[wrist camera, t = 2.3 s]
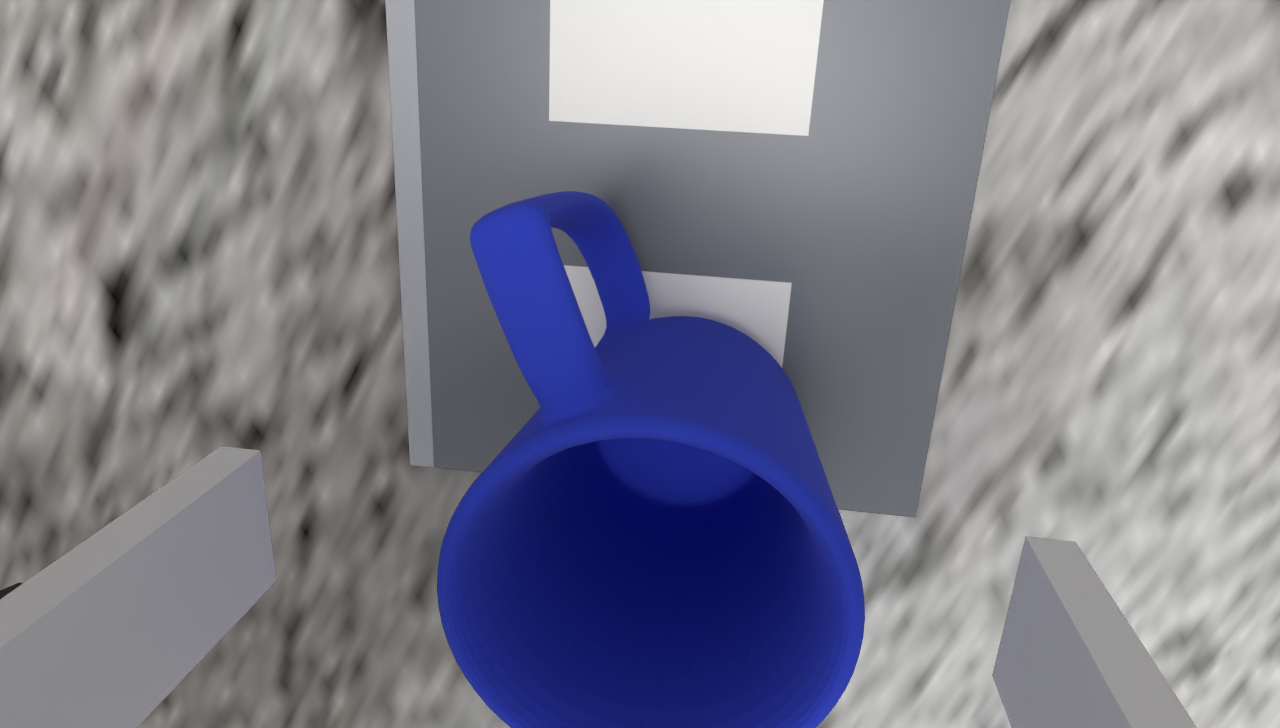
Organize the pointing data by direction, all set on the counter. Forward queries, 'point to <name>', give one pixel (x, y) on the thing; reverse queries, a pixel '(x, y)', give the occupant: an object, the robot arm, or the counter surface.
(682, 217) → the label panel
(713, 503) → the mug
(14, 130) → the counter surface
